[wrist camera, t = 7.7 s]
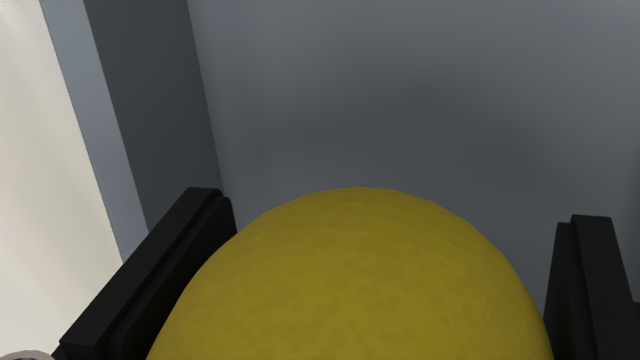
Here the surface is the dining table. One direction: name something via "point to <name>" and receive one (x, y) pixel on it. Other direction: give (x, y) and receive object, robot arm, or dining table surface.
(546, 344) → the lemon
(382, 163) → the grey shallow tray
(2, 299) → the dining table surface
